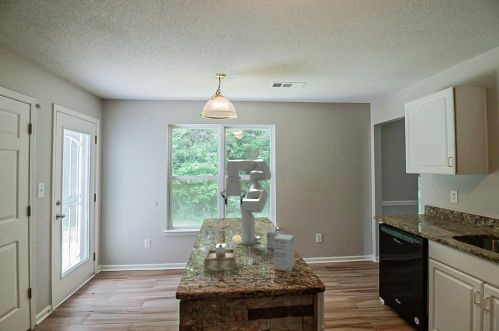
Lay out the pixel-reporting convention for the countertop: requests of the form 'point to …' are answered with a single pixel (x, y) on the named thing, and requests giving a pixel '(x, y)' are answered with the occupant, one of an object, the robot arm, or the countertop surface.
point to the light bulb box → (272, 238)
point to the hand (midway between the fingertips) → (233, 204)
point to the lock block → (220, 250)
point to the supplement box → (284, 252)
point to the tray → (220, 261)
